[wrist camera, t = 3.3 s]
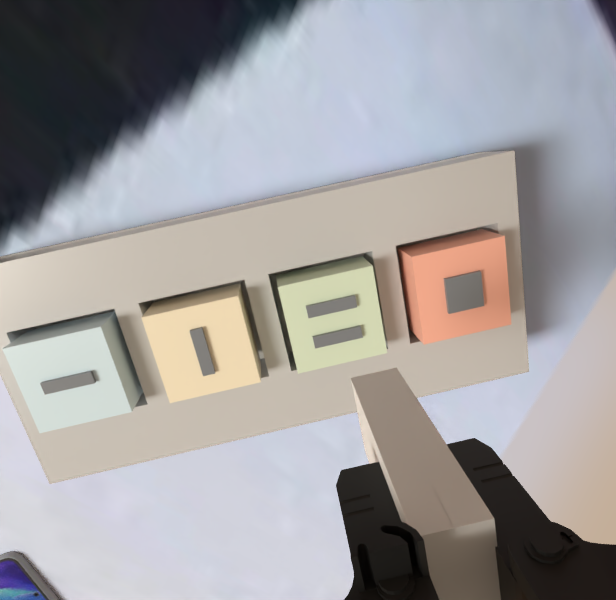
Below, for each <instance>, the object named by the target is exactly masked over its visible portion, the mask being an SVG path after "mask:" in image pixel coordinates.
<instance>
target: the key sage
mask: <svg viewBox="0 0 616 600" xmlns="http://www.w3.org/2000/svg"><path fill="white" fill-rule="evenodd" d="M276 278H277V286H278V291H279V295H280V299H281V304H282V308H283V312H284V316H285V321H286V325H287V329H288V333H289V338H290V342H291V346H292V350H293V355H294V359H295V363H296V367H297V372H298V374H299V373H303V372H308V371H312V370H316V369H321V368H325V367H329V366H334V365H338V364H342V363H347V362H351V361H355V360H360V359H364V358H368V357H373V356H377V355H381V354H386V353H387V348H386V343H385V337H384V331H383V325H382V319H381V313H380V307H379V301H378V295H377V289H376V283H375V277H374V271H373V266H372V265H371V264H370V263H369V262H368V261H367V260H366V259H365V258H364V257H363V256H360V257H355V258H351V259H346V260H342V261H337V262H333V263H328V264H324V265H319V266H315V267H311V268H306V269H302V270H297V271H293V272H288V273H284V274H279V275H276Z"/></svg>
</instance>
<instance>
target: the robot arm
mask: <svg viewBox="0 0 616 600" xmlns="http://www.w3.org/2000/svg"><path fill="white" fill-rule="evenodd" d="M351 382H352V387H353V392H354V397H355V402H356V407H357V412H358V418H359V423H360V428H361V433H362V438H363V443H364V448H365V452H366V455H367V458H368V461H369V464H366V465H362V466H358V467H353V468H349V469H345V470H341V472H340V475H339V478H338V481H337V484H336V487H337V492H338V497H339V501H340V506H341V511H342V515H343V520H344V525H345V529H346V534H347V539H348V544H349V548H350V553H351V561H352V565H353V570H354V580H353V585H352V588H351V590H350V592H349V594H348V596H347V597H346V598H345V599H344V600H616V545H609V544H598V543H590V542H587V541H583V540H582V539H581V538H580V537H579V536H578V535H576V534H575V533H574V532H573V531H572V530H570V529H568V528H566V527H564V526H562V525H560V524H558V523H555V522H551V521H550V520H549V519H548V518H547V517H546V515H545V514H544V513H543V512H542V510H541V509H540V508H539V507H538V505H537V504H536V503H535V502H534V500H533V499H532V498H531V497H530V495H529V494H528V493H527V492H526V491H525V489H524V488H523V487H522V485H521V484H520V483H519V482H518V481H517V479H516V478H515V477H514V476H512V473H511V472H510V470H509V469H508V468H507V467H506V465H505V464H503V462H502V460H501V459H500V458H499V457H498V455H497V454H496V453H495V452H494V450H493V449H492V448H491V447H489V446H487V445H486V444H484V443H482V442H480V441H479V440H477V439H475V438H472V439H468V440H464V441H459V442H455V443H451V444H447V445H446V443H445V441H444V440H443V438H442V437H441V435H440V434H439V432H438V431H437V429H436V428H435V426H434V424H433V423H432V421H431V420H430V418H429V417H428V415H427V414H426V412H425V411H424V409H423V407H422V406H421V404H420V403H419V401H418V400H417V398H416V397H415V395H414V394H413V392H412V390H411V389H410V387H409V386H408V384H407V383H406V381H405V380H404V378H403V377H402V375H401V373H400V372H399V370H398V369H397V368H392V369H388V370H383V371H379V372H375V373H370V374H366V375H361V376H357V377H353V378H351Z"/></svg>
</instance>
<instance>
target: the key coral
mask: <svg viewBox="0 0 616 600" xmlns="http://www.w3.org/2000/svg"><path fill="white" fill-rule="evenodd" d="M397 249H398V256H399V263H400V269H401V276H402V283H403V289H404V296H405V303H406V310H407V316H408V323H409V329H410V330H411V331H412V332H413V333H414V334H415V335H416V336H417V338H418V339H419V340H420V341H421V342H422V343H423V344H424V345H425V344H429V343H433V342H438V341H442V340H446V339H451V338H455V337H459V336H464V335H468V334H472V333H477V332H481V331H485V330H490V329H494V328H498V327H502V326H507V325H511V324H512V323H511V310H510V297H509V284H508V271H507V258H506V245H505V236H503V235H500V234H497V233H493V232H490V231H486V230H483V229H480V230H476V231H471V232H467V233H462V234H458V235H454V236H449V237H445V238H440V239H436V240H431V241H427V242H422V243H418V244H413V245H409V246H404V247H400V248H397Z"/></svg>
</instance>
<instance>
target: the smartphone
mask: <svg viewBox="0 0 616 600" xmlns="http://www.w3.org/2000/svg"><path fill="white" fill-rule="evenodd" d="M0 600H60V599H59V598H58V597H57V596H56V595H55V593H54V592H53V591H52V590H51V589H50V587H49V586H48V585H47V584H46V583H45V582H44V580H43V579H42V578H41V577H40V576H39V574H38V573H37V572H36V571H35V570H34V568H33V567H32V566H31V565H30V564H29V562H28V561H27V560H26V559H25V558H24V557H23V556H22V555H21V554H20V553H17V552H7V553H4V554H2V555H0Z"/></svg>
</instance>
